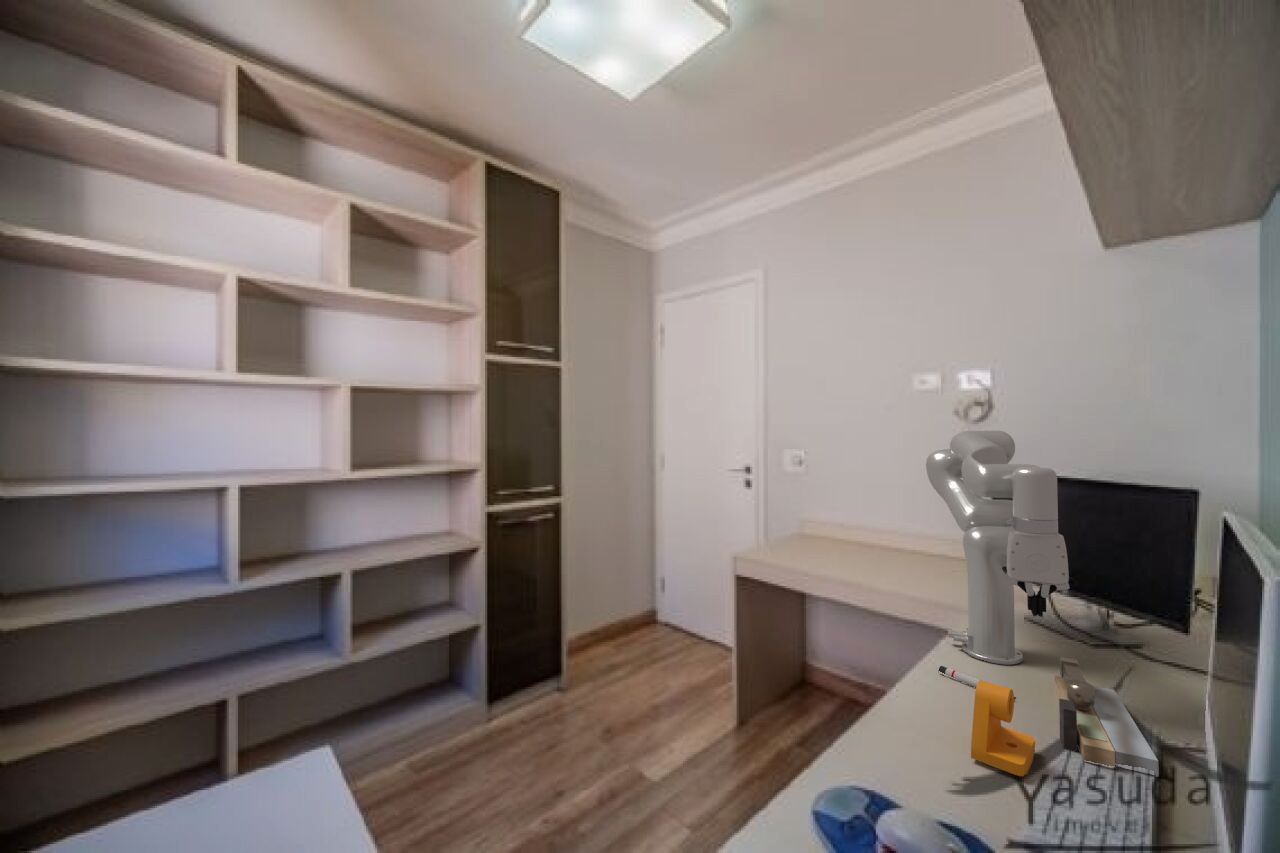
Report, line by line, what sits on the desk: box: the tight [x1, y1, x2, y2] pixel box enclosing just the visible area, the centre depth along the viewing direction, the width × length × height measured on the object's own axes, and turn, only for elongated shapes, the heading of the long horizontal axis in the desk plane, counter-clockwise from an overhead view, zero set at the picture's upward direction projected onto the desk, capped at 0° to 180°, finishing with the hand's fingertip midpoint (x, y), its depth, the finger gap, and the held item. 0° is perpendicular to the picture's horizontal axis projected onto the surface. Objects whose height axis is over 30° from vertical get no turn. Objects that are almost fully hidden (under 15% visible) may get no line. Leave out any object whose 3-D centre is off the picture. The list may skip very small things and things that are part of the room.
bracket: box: [970, 679, 1036, 777], centre depth 90 cm, size 11×7×12 cm, turn 134°
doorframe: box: [1054, 674, 1160, 778], centre depth 99 cm, size 12×28×7 cm, turn 149°
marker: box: [938, 665, 1017, 701], centre depth 114 cm, size 15×2×2 cm, turn 32°
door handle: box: [1059, 656, 1095, 706], centre depth 104 cm, size 14×4×4 cm, turn 149°
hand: (1036, 614), depth 109 cm, fingers closed
